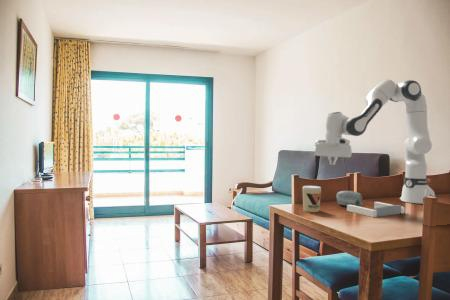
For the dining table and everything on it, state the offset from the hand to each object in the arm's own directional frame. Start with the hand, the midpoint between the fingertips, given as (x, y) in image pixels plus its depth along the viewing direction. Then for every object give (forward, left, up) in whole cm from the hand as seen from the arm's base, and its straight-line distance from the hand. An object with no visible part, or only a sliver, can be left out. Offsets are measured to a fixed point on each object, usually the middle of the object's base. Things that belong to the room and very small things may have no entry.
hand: (332, 164), depth 212 cm
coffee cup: (+28, +14, -22) cm, 38 cm away
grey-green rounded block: (0, +13, -22) cm, 25 cm away
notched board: (0, +30, -22) cm, 37 cm away
